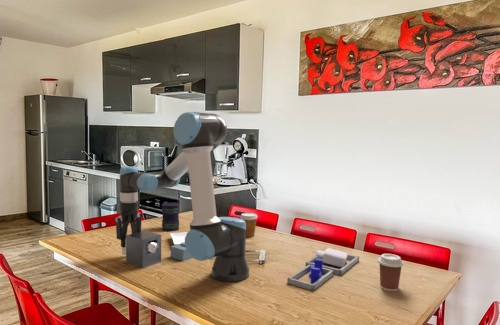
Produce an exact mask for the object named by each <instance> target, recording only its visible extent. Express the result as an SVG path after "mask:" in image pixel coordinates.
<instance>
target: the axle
mask: <svg viewBox="0 0 500 325" xmlns="http://www.w3.org/2000/svg"><path fill="white" fill-rule="evenodd" d="M158 248H159V246H158V244H156V243H153V242H148V251H149V252H152V253H156V252H157V251H158Z"/></svg>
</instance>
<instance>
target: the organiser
mask: <svg viewBox="0 0 500 325" xmlns="http://www.w3.org/2000/svg"><path fill="white" fill-rule="evenodd" d="M323 251H324V252H325V250H323ZM315 259H321V260H322V259H323V258H322V257H318V256H316V255H315V256H314V257H311V258H310V259H309V260H307V261H306V262H305V266H304V267H303V268H302V269H300V270H298V271H297V272H295V273H293V274H292V275H290V276H289V277H286V278H287V279H286V280H287V282H286V283H287V284H289V285H291V286H292V285H293V286H296V287H299V288H301V289H302V288H303V289H306V290H309V291H313V292H314V291H315V290H316V289H318V288H319V287H321V286H322V285H324V283H325V282H327V281H328V280H330V279H331V278H333V277H334V275H337V276H342V275H343V274H345V273H346V272H347V271H348V270H350V269H351V268H352V267H354V266H355V265H356V264H357V263H359V262H360V256H358V255H353V254H349V253H348V256H347V260H350V261H349V262H347V263H346V265H345V266H344V267H340V269H339V268H335V267H330V266H327V265H324V264H323V265H322V274H323V275H322V276H321V278H320V279H319V280H317V281H316V282H315V283H313V284H311V282H310V283H309V282H307V281H303V280H300V278H301V277H303V276H304V275H305V274H307V273H308V272H310V268H311V265H313V266H315Z"/></svg>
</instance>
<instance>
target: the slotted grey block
mask: <svg viewBox="0 0 500 325" xmlns="http://www.w3.org/2000/svg"><path fill="white" fill-rule="evenodd" d="M148 242H153V243H156V244H158V246H159V248H158V251H157V252H156V253H152V252H149V251H148ZM125 260H126V262H125V263H127V264H130V265H133V266H136V267H139V268H141V269H143V268H146V267H150V266H153V265H156V264H159V263H161V262H162V234H161V233H156V232H152V231H148V230H141V232H137V233H133V234H132V233H129V234H127V235H126V255H125Z"/></svg>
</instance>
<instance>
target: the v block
mask: <svg viewBox="0 0 500 325" xmlns="http://www.w3.org/2000/svg"><path fill="white" fill-rule="evenodd" d="M170 258H173V259H175V260H179V261H182V262H184V261H188V260H189V259H192V258H193V257H192V256H191V255H190V254H189V253H188V251H187V249H186V246H185V242H183V243H180V246H178V245H174V244H173V245H171V246H170ZM193 259H194V258H193Z"/></svg>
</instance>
